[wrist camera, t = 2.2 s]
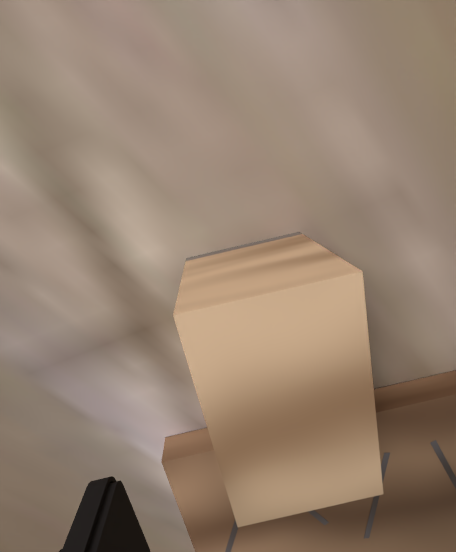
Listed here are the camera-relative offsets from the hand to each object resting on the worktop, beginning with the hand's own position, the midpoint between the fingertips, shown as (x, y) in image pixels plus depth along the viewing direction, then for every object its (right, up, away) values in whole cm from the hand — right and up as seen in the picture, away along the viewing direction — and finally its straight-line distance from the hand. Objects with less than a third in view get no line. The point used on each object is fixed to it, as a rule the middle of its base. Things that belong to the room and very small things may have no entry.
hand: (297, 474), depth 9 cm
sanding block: (0, +3, +7) cm, 7 cm away
